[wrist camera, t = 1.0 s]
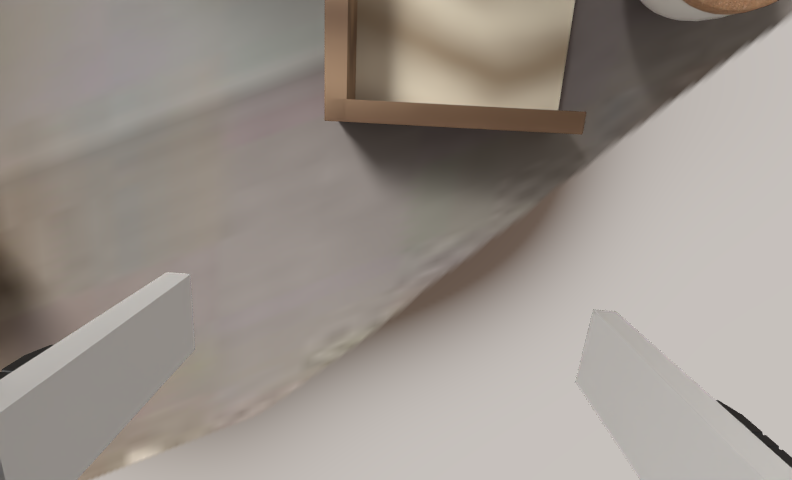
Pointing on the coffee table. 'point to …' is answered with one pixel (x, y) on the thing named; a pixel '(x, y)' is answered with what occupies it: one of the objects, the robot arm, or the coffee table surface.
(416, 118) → the walls
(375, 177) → the coffee table surface
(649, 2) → the lidded jar
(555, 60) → the board
